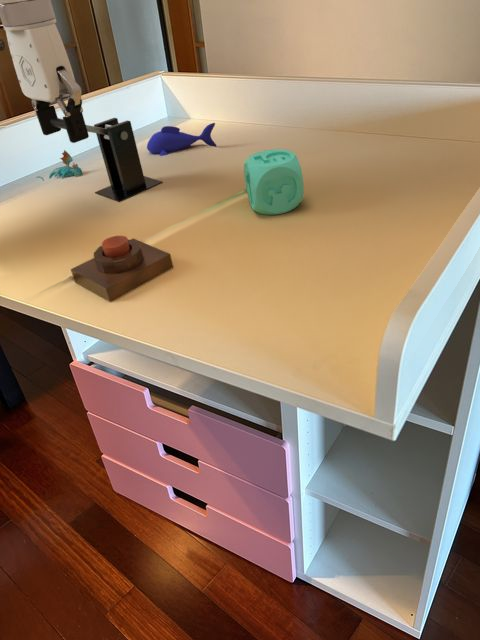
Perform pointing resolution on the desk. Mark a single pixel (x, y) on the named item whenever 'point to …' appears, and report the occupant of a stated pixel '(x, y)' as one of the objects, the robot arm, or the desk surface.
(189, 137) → the fish toy
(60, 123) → the switch lever
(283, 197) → the decorative dice
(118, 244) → the button
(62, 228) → the desk surface
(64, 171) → the dragon figurine
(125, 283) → the button block
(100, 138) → the switch bracket
